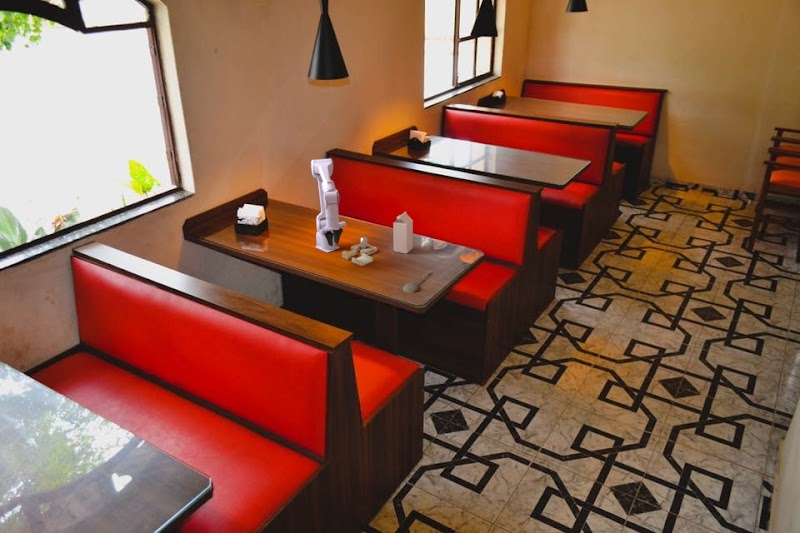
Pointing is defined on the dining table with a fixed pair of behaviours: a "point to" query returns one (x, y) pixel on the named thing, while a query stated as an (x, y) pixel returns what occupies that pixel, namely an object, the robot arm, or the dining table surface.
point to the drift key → (348, 254)
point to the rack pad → (362, 260)
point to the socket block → (367, 251)
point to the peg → (363, 243)
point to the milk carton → (403, 234)
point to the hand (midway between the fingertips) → (333, 244)
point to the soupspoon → (413, 285)
